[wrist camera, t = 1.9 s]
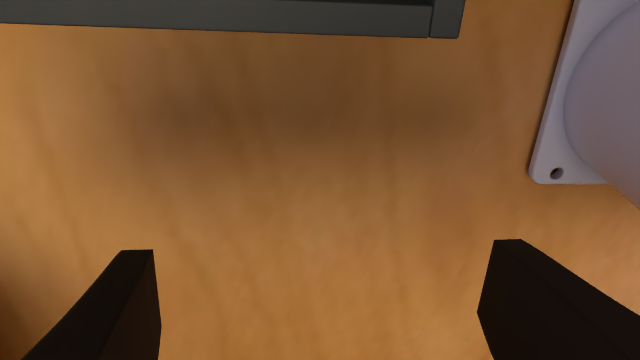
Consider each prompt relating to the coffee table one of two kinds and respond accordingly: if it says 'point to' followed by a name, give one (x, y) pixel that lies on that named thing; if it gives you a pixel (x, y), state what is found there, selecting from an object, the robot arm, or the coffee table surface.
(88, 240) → the coffee table surface
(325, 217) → the coffee table surface
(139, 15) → the open storage bin
